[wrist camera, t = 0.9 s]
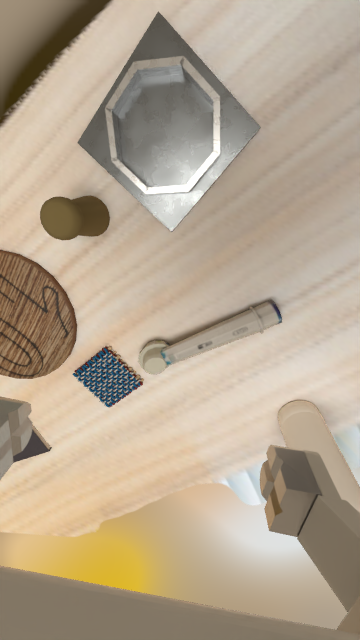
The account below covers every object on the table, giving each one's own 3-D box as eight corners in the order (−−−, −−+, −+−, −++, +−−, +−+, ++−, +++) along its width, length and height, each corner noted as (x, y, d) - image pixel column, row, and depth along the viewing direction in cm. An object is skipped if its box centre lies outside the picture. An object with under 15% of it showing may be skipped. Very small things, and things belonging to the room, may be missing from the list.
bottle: (326, 405, 53) (456, 624, 25) (309, 435, 56) (408, 661, 28) (285, 394, 53) (369, 602, 25) (271, 426, 56) (331, 641, 28)
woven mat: (111, 405, 58) (108, 411, 57) (74, 370, 56) (69, 376, 54) (147, 380, 55) (144, 386, 53) (109, 341, 53) (105, 346, 51)
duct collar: (159, 14, 34) (154, -3, 31) (259, 128, 37) (264, 122, 35) (79, 143, 40) (69, 138, 37) (171, 231, 44) (169, 233, 41)
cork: (94, 187, 42) (57, 181, 32) (117, 223, 44) (89, 228, 34) (64, 209, 44) (21, 210, 34) (88, 243, 46) (53, 254, 35)
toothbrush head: (286, 329, 44) (144, 388, 47) (272, 316, 50) (147, 369, 53) (276, 300, 42) (130, 363, 45) (262, 290, 49) (135, 346, 51)
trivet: (-28, 219, 46) (-38, 219, 45) (101, 304, 50) (97, 307, 48) (-65, 328, 55) (-74, 333, 54) (46, 394, 59) (41, 399, 57)
